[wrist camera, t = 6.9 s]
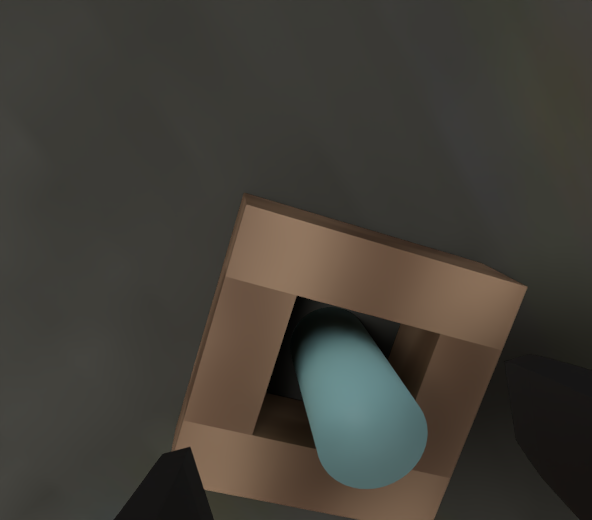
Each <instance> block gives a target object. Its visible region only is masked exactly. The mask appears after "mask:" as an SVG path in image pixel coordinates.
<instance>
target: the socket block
mask: <svg viewBox="0 0 592 520" xmlns="http://www.w3.org/2000/svg"><path fill="white" fill-rule="evenodd" d="M526 290H527V286H525V285H523V284H521V283H519V282H517V281H515V280H513V279H511V278H509V277H508V276H506V275H504V274H502V273H500V272H498V271H496V270H494V269H492V268H490V267H488V266H486V265H484V264H482V263H479V262H476V261H473V260H469V259H466V258H462V257H459V256H456V255H452V254H449V253H446V252H442V251H439V250H435V249H432V248H429V247H425V246H422V245H419V244H415V243H412V242H409V241H405V240H402V239H398V238H395V237H392V236H388V235H385V234H382V233H378V232H375V231H372V230H368V229H365V228H361V227H358V226H355V225H351V224H348V223H345V222H341V221H338V220H334V219H331V218H328V217H324V216H321V215H318V214H314V213H311V212H308V211H304V210H301V209H297V208H294V207H291V206H287V205H284V204H281V203H277V202H274V201H270V200H267V199H264V198H260V197H257V196H254V195H250V194H247V193H244V194H243V198H242V201H241V205H240V208H239V212H238V215H237V219H236V222H235V225H234V229H233V232H232V236H231V239H230V243H229V246H228V250H227V253H226V257H225V260H224V263H223V267H222V270H221V274H220V277H219V281H218V284H217V288H216V291H215V295H214V298H213V301H212V305H211V308H210V312H209V315H208V319H207V322H206V326H205V329H204V333H203V336H202V340H201V343H200V346H199V350H198V353H197V357H196V360H195V364H194V367H193V371H192V374H191V378H190V381H189V384H188V388H187V391H186V395H185V398H184V402H183V405H182V409H181V412H180V416H179V419H178V423H177V426H176V430H175V435H174V440H173V446H172V451H176V450H179V449H183V448H187V447H191V450H192V453H193V456H194V459H195V463H196V466H197V469H198V472H199V475H200V478H201V481H202V484H203V488H204V490H209V491H214V492H220V493H225V494H230V495H235V496H240V497H245V498H250V499H255V500H261V501H266V502H271V503H276V504H281V505H286V506H291V507H297V508H302V509H307V510H312V511H317V512H322V513H327V514H333V515H338V516H343V517H348V518H353V519H358V520H434V518H435V515H436V513H437V510H438V508H439V505H440V503H441V500H442V498H443V496H444V493H445V491H446V488H447V486H448V483H449V481H450V478H451V476H452V473H453V471H454V468H455V466H456V463H457V461H458V458H459V456H460V453H461V451H462V448H463V446H464V443H465V441H466V439H467V436H468V434H469V431H470V429H471V426H472V424H473V421H474V419H475V416H476V414H477V411H478V409H479V406H480V404H481V401H482V399H483V396H484V394H485V391H486V389H487V387H488V384H489V382H490V379H491V377H492V374H493V372H494V369H495V367H496V364H497V362H498V359H499V357H500V354H501V352H502V349H503V347H504V344H505V342H506V339H507V337H508V334H509V332H510V330H511V327H512V325H513V322H514V320H515V317H516V315H517V312H518V310H519V307H520V305H521V302H522V300H523V297H524V295H525V292H526ZM296 296H300V297H304V298H308V299H312V300H315V301H319V302H323V303H327V304H330V305H334V306H338V307H342V308H345V309H349V310H353V311H357V312H360V313H364V314H368V315H372V316H375V317H379V318H383V319H386V320H390V321H394V322H398V323H401V324H400V327H399V330H398V332H397V335H396V338H395V341H394V344H393V346H392V349H391V352H390V355H389V357H388V362H389V363H390V365H391V366H392V368H393V369H394V371H395V372H396V373H397V375H398V376H399V378H400V379H401V381H402V382H403V384H404V385H405V386H406V388H407V389H408V391H409V392H410V394H411V395H412V397H413V398H414V399H415V401H416V402H417V404H418V405H419V407H420V408H421V410H422V412H423V414H424V416H425V419H426V423H427V430H428V435H427V443H426V447H425V449H424V452H423V454H422V456H421V458H420V460H419V461H418V463H417V464H416V465H415V467H414V468H413V469H412V470H411V471H410V472H409V473H408V474H407V475H405V476H404V477H402V478H401V479H400V480H398V481H396V482H394V483H392V484H390V485H387V486H384V487H380V488H375V489H358V488H353V487H349V486H346V485H344V484H342V483H340V482H338V481H337V480H335V479H334V478H333V477H331V476H330V475H329V474H328V473H327V471H326V470H325V469H324V467H323V466H322V464H321V462H320V460H319V457H318V453H317V449H316V446H315V442H314V438H313V435H312V431H311V427H310V424H309V420H308V416H307V412H306V409H305V405H304V401H299V400H295V399H291V398H286V397H282V396H278V395H274V394H269V393H266V390H267V387H268V384H269V381H270V378H271V375H272V372H273V368H274V365H275V362H276V359H277V356H278V353H279V350H280V347H281V343H282V340H283V337H284V334H285V331H286V328H287V325H288V321H289V318H290V315H291V312H292V309H293V306H294V303H295V300H296ZM172 451H171V452H172Z"/></svg>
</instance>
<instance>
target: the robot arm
mask: <svg viewBox="0 0 592 520" xmlns="http://www.w3.org/2000/svg"><path fill="white" fill-rule="evenodd" d="M504 362H505V368H506V375H507V382H508V389H509V396H510V403H511V410H512V417H513V424H514V431H515V438H516V441H517V442H518V444H519V445H520V447H521V448H522V450H523V451H524V453H525V454H526V456H527V457H528V459H529V460H530V462H531V463H532V465H533V466H534V467H535V469H536V470H537V472H538V473H539V474H540V476H541V477H542V478H543V479H544V481H545V482H546V483H547V484H548V485H549V486H550V487H551V488H552V490H553V491H554V492H555V493H556V494H557V495H558V496H559V497H560V498H561V500H562V501H563V502H564V503H565V504H566V505H567V506H568V507H569V508H570V510H571V511H572V512H573V513H574V514H575V515H576V516H577V517H578V518H579V519H580V520H592V370H588V369H585V368H582V367H578V366H575V365H571V364H568V363H564V362H561V361H557V360H554V359H550V358H546V357H542V356H537V355H532V354H529V355H526V356H522V357H518V358H515V359H511V360H507V361H504ZM114 520H214V519H213V516H212V513H211V509H210V506H209V503H208V500H207V497H206V494H205V491H204V488H203V484H202V481H201V478H200V475H199V472H198V469H197V466H196V463H195V459H194V456H193V453H192V450H191V447H187V448H183V449H179V450H176V451H172V452H168V453H165V454H162V456H161V457H160V458H159V459H158V461H157V462H156V463H155V465H154V466H153V467H152V469H151V470H150V472H149V473H148V474H147V476H146V477H145V479H144V480H143V481H142V483H141V484H140V485H139V487H138V488H137V490H136V491H135V492H134V494H133V495H132V496H131V498H130V499H129V500H128V502H127V503H126V504H125V506H124V507H123V508H122V510H121V511H120V512H119V514H118V515H117V516H116V518H115V519H114Z"/></svg>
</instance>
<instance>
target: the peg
mask: <svg viewBox="0 0 592 520" xmlns="http://www.w3.org/2000/svg"><path fill="white" fill-rule="evenodd" d="M290 353H291V357H292V361H293V364H294V368H295V372H296V375H297V379H298V383H299V387H300V390H301V394H302V398H303V401H304V405H305V409H306V412H307V416H308V420H309V424H310V427H311V431H312V435H313V438H314V442H315V446H316V449H317V453H318V457H319V460H320V462H321V464H322V466H323V467H324V469H325V470H326V471H327V473H328V474H329V475H330V476H331V477H333V478H334V479H335V480H337V481H338V482H340V483H342V484H344V485H346V486H349V487H353V488H358V489H375V488H380V487H384V486H387V485H390V484H392V483H394V482H396V481H398V480H400V479H401V478H402V477H404V476H405V475H407V474H408V473H409V472H410V471H411V470H412V469H413V468H414V467H415V465H416V464H417V463H418V461H419V460H420V458H421V456H422V454H423V452H424V449H425V447H426V443H427V435H428V430H427V423H426V419H425V416H424V414H423V412H422V410H421V408H420V407H419V405H418V404H417V402H416V401H415V399H414V398H413V397H412V395H411V394H410V392H409V391H408V389H407V388H406V386H405V385H404V384H403V382H402V381H401V379H400V378H399V376H398V375H397V373H396V372H395V371H394V369H393V368H392V366H391V365H390V363H389V362H388V360H387V359H386V358H385V356H384V355H383V353H382V352H381V350H380V349H379V347H378V346H377V345H376V343H375V342H374V340H373V339H372V337H371V336H370V334H369V333H368V332H367V330H366V329H365V327H364V326H363V324H362V323H361V322H360V320H359V319H358V318H357V317H356V316H355V315H353V314H352V313H350V312H348V311H346V310H344V309H340V308H334V307H327V308H321V309H318V310H315V311H313V312H311V313H309V314H308V315H306V316H305V317H304V318H303V319H302V320H301V321H300V322H299V323H298V324H297V326H296V327H295V329H294V331H293V333H292V336H291V340H290Z"/></svg>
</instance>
